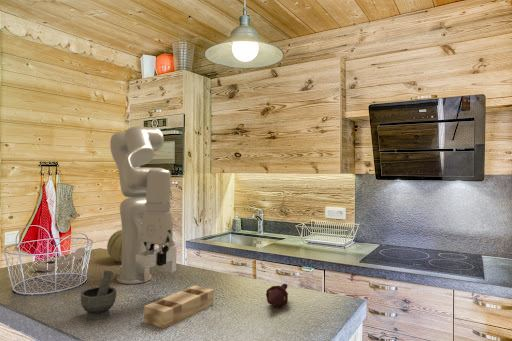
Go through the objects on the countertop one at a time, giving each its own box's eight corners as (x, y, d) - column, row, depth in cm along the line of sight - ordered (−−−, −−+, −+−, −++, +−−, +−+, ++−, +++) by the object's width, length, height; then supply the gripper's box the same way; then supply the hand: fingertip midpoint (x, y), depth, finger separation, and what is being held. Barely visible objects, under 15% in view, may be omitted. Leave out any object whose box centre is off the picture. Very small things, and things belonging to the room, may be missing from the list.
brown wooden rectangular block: (143, 322, 105) (143, 306, 104) (194, 298, 124) (194, 285, 124) (164, 328, 100) (164, 312, 100) (213, 303, 120) (213, 289, 119)
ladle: (90, 248, 171) (41, 259, 148) (90, 261, 171) (40, 274, 148) (80, 247, 174) (30, 258, 150) (80, 259, 174) (30, 273, 150)
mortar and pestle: (103, 323, 103) (103, 280, 103) (72, 320, 105) (73, 278, 105) (124, 308, 114) (124, 269, 114) (96, 306, 116) (97, 267, 116)
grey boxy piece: (135, 279, 115) (135, 254, 115) (167, 268, 128) (167, 245, 127) (144, 282, 113) (144, 256, 113) (175, 270, 126) (176, 247, 125)
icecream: (283, 296, 109) (297, 286, 123) (261, 286, 112) (277, 277, 126) (276, 318, 109) (291, 305, 123) (254, 308, 112) (271, 297, 126)
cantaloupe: (116, 257, 178) (116, 225, 178) (145, 258, 177) (146, 226, 177) (100, 265, 163) (100, 231, 163) (132, 266, 162) (132, 232, 162)
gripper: (130, 206, 121) (129, 261, 121) (169, 211, 112) (167, 271, 113) (148, 204, 127) (147, 257, 128) (185, 208, 119) (184, 265, 119)
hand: (156, 263), depth 120 cm, fingers closed on grey boxy piece, 4 cm apart
